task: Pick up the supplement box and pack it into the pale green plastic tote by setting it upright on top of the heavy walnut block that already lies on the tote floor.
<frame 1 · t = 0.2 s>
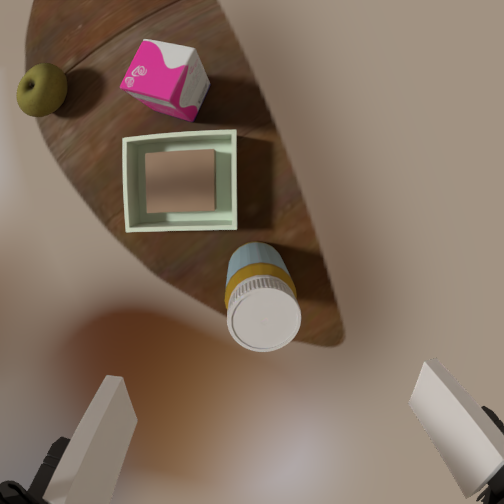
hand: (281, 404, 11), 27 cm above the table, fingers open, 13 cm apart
bottle: (255, 266, 38), on the table
tote: (184, 180, 35), on the table
apple: (57, 95, 30), on the table
supplement box: (181, 97, 32), on the table
walnut block: (183, 180, 34), resting on tote
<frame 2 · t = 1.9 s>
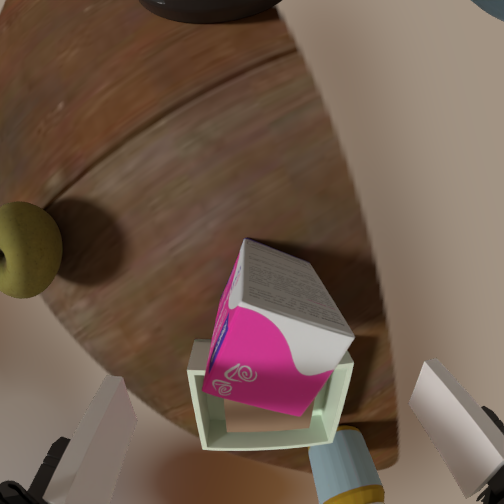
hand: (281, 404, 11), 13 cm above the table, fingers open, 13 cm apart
bottle: (333, 438, 30), on the table
tote: (266, 384, 26), on the table
apple: (47, 238, 22), on the table
supplement box: (262, 280, 24), on the table
walnut block: (267, 387, 26), resting on tote
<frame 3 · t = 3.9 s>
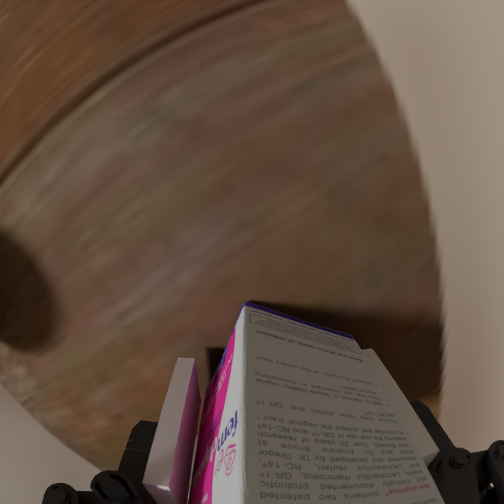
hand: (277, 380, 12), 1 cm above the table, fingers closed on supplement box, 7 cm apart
supplement box: (274, 363, 13), on the table, touching gripper
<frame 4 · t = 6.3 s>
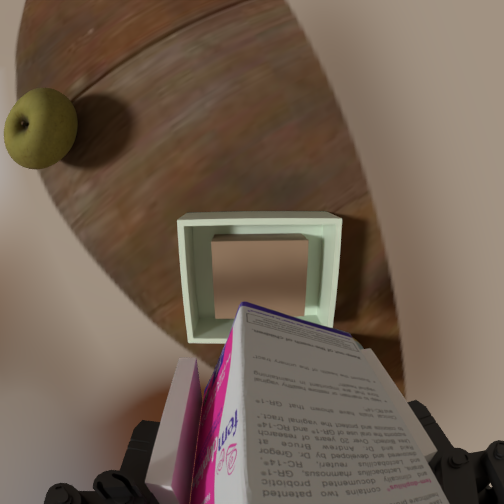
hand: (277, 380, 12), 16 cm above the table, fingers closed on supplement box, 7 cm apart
tote: (258, 268, 28), on the table
apple: (62, 132, 24), on the table
supplement box: (272, 362, 14), point 15 cm above the table, touching gripper
walnut block: (258, 270, 27), resting on tote
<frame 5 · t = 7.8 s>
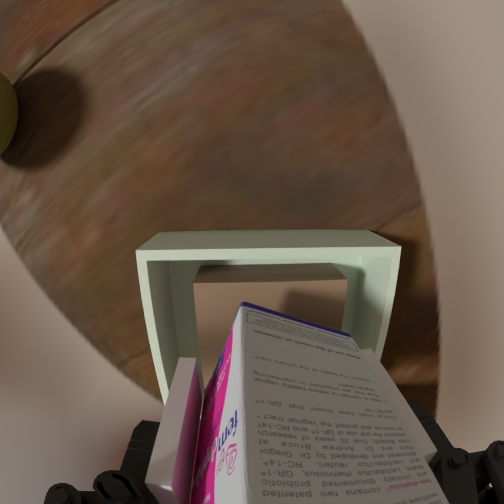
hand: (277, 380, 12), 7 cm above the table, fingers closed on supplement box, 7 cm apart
tote: (266, 312, 19), on the table
apple: (5, 123, 14), on the table
supplement box: (272, 362, 14), point 5 cm above the table, touching gripper
walnut block: (266, 316, 18), resting on tote
when the fingers open (6 cm above the table, at t = 8.8 s): supplement box drops 1 cm, resting on walnut block.
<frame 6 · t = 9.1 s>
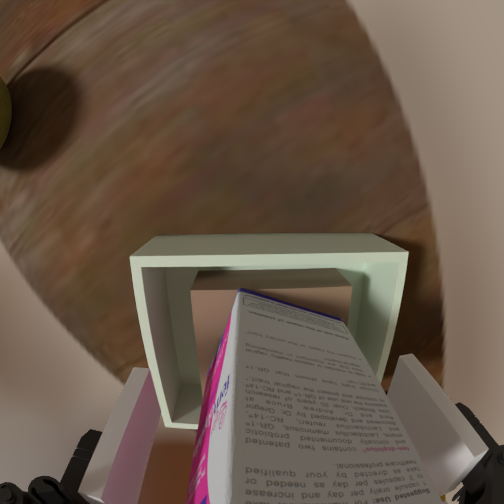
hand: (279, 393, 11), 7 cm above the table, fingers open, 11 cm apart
tote: (266, 319, 18), on the table
supplement box: (270, 346, 15), point 3 cm above the table, touching walnut block
walnut block: (267, 323, 18), resting on tote, touching supplement box
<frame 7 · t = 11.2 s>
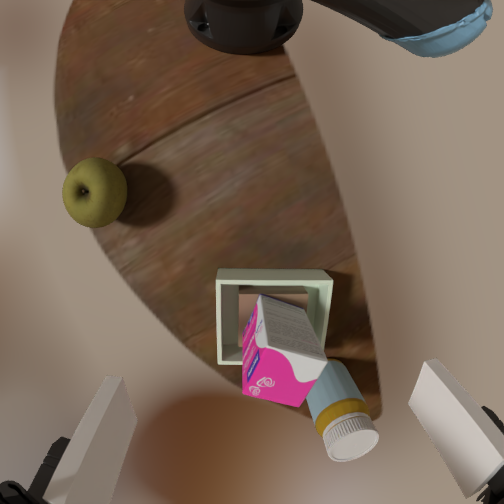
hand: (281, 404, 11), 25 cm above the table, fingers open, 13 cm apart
bottle: (322, 374, 40), on the table
tote: (269, 309, 37), on the table
apple: (110, 191, 33), on the table
supplement box: (271, 320, 34), point 3 cm above the table, touching walnut block
walnut block: (269, 311, 36), resting on tote, touching supplement box
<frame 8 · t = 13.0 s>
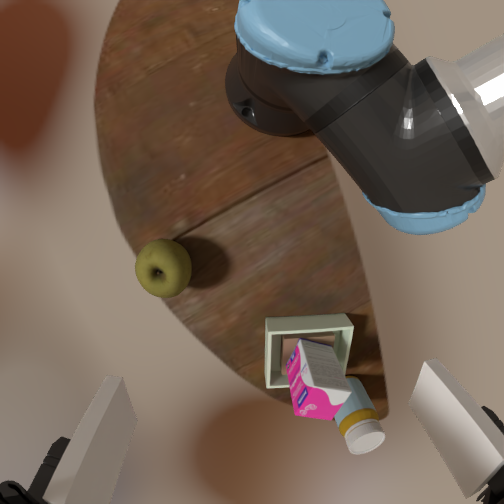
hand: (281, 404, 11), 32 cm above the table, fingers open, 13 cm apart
bottle: (342, 386, 50), on the table
tote: (303, 344, 46), on the table
apple: (171, 259, 42), on the table
supplement box: (307, 354, 43), point 3 cm above the table, touching walnut block
walnut block: (304, 345, 46), resting on tote, touching supplement box
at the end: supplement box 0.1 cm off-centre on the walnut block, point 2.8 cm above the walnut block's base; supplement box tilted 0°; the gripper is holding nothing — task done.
